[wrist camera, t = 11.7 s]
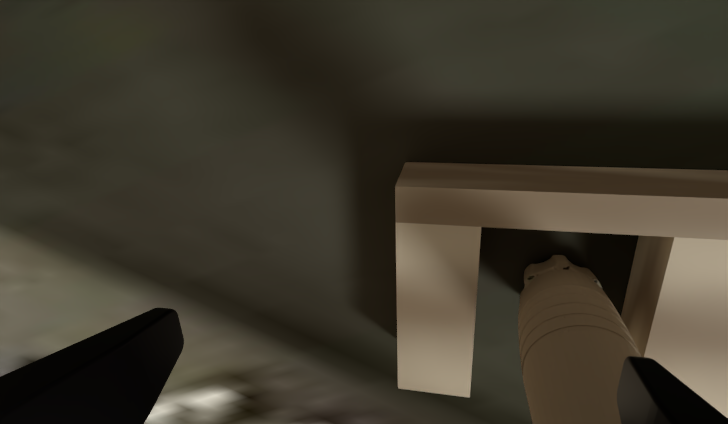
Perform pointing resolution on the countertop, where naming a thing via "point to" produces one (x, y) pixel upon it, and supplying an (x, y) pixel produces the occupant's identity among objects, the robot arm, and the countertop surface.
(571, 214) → the notched rail
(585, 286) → the handle
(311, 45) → the countertop surface
